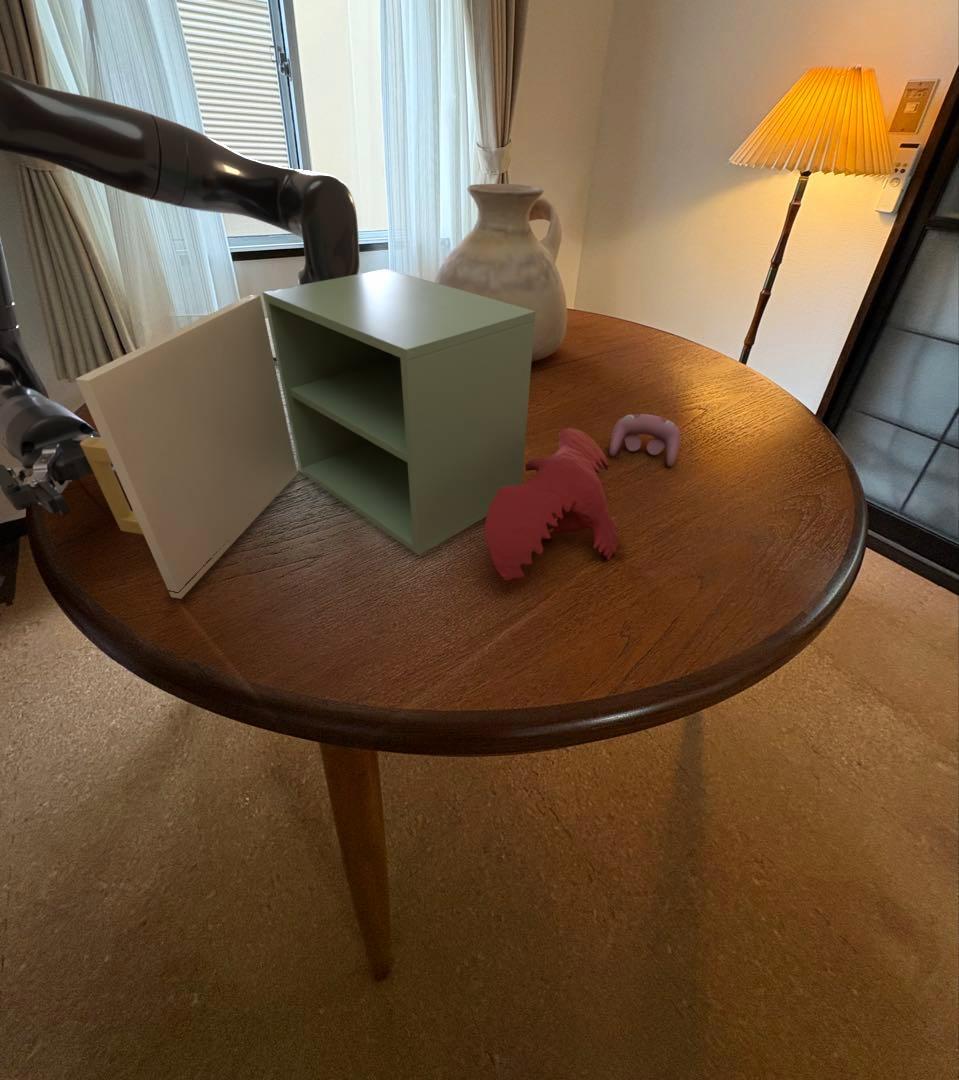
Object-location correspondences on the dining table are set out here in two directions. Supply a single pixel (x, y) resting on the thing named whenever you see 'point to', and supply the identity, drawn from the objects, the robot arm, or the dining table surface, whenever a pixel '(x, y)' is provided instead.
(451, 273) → the jug
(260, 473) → the door
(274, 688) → the dining table surface
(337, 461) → the cupboard
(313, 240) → the robot arm
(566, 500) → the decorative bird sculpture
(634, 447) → the video game controller
